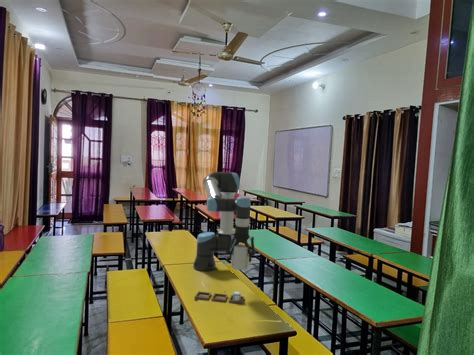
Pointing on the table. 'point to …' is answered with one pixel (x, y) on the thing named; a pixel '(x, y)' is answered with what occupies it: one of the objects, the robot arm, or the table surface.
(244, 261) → the cup
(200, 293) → the tray
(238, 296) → the letter cube
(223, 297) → the tray
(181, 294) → the table surface
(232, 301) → the tray
